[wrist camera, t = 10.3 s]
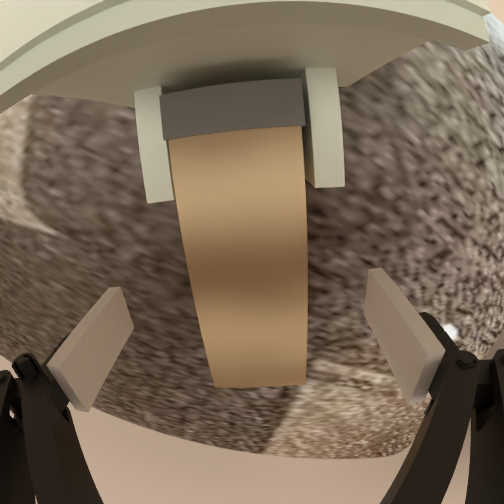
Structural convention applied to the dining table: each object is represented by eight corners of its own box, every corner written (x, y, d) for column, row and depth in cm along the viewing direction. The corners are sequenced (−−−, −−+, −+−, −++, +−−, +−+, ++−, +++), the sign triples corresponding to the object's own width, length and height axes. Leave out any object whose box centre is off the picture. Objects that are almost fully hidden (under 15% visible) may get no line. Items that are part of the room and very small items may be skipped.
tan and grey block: (298, 319, 22) (308, 386, 16) (225, 323, 23) (212, 389, 16) (287, 102, 16) (300, 78, 10) (197, 111, 17) (159, 95, 10)
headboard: (149, 191, 19) (-6, 283, 6) (136, 70, 16) (-23, 17, 3) (353, 174, 18) (505, 252, 5) (341, 47, 15) (453, -67, 2)
